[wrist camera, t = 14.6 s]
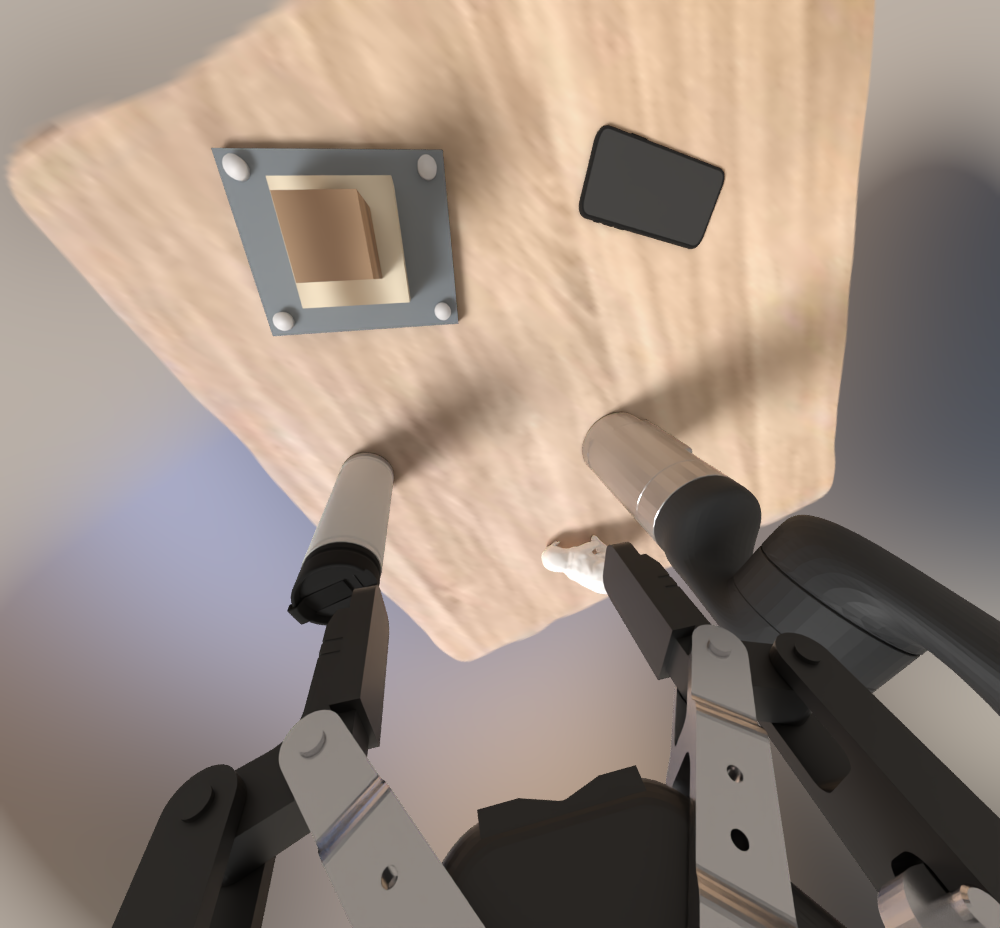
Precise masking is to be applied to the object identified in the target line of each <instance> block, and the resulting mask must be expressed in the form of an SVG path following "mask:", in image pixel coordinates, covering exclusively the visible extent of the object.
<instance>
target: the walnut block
mask: <svg viewBox="0 0 1000 928" xmlns="http://www.w3.org/2000/svg"><path fill="white" fill-rule="evenodd" d="M270 192H271V196H272V199H273V203H274V206H275V210H276V214H277V217H278V221H279V224H280V228H281V231H282V235H283V238H284V242H285V245H286V249H287V252H288V256H289V259H290V263H291V266H292V270H293V274H294V277H295V281H296V283H309V282H329V281H348V280H367V279H383V278H382V272H381V266H380V261H379V255H378V250H377V244H376V239H375V233H374V227H373V222H372V216H371V211H370V207H369V206H368V204H367V203H366V201H365V200H364V199H363V197H362V196H361V195H360V193H359V192H358V190H357V189H307V190H270Z"/></svg>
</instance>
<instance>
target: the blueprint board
mask: <svg viewBox="0 0 1000 928" xmlns="http://www.w3.org/2000/svg"><path fill="white" fill-rule="evenodd" d="M211 149H212V152H213V155H214V158H215V161H216V164H217V167H218V170H219V173H220V176H221V179H222V182H223V186H224V189H225V192H226V195H227V198H228V201H229V204H230V207H231V210H232V213H233V216H234V219H235V222H236V225H237V228H238V231H239V234H240V237H241V240H242V243H243V246H244V250H245V253H246V256H247V259H248V262H249V265H250V268H251V271H252V274H253V277H254V280H255V283H256V286H257V289H258V292H259V295H260V298H261V301H262V304H263V307H264V310H265V314H266V317H267V320H268V323H269V326H270V329H271V332H272V335H273V336H283V335H298V334H312V333H327V332H342V331H356V330H371V329H386V328H401V327H415V326H430V325H445V324H458V314H457V303H456V292H455V281H454V270H453V259H452V248H451V237H450V226H449V215H448V204H447V193H446V182H445V171H444V160H443V150H411V149H276V148H211ZM310 175H391V177H392V181H393V184H394V189H395V195H396V202H397V209H398V216H399V223H400V230H401V237H402V243H403V250H404V257H405V264H406V271H407V278H408V284H409V291H410V298H411V300H410V302H407V303H390V304H372V305H355V306H337V307H320V308H302V304H301V300H300V297H299V293H298V290H297V286H296V283H295V279H294V275H293V272H292V268H291V265H290V261H289V258H288V254H287V251H286V247H285V243H284V240H283V236H282V233H281V229H280V226H279V222H278V218H277V215H276V211H275V208H274V204H273V201H272V197H271V193H270V190H269V186H268V183H267V179H266V176H310Z"/></svg>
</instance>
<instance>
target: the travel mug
mask: <svg viewBox="0 0 1000 928" xmlns="http://www.w3.org/2000/svg"><path fill="white" fill-rule="evenodd" d="M393 480H394V473H393V469H392V467H391V465H390V464H389V463H388V461H386V460H385V459H384V458H382V457H381V456H379V455H376V454H372V453H359V454H356V455H353V456H351V457H350V458H348V459H347V460H346V461H345V462H344V464H343V465H342V468H341V470H340V472H339V475H338V477H337V480H336V482H335V485H334V487H333V490H332V492H331V494H330V497H329V499H328V502H327V504H326V507H325V509H324V512H323V514H322V516H321V519H320V521H319V524H318V526H317V529H316V531H315V534H314V536H313V538H312V541H311V543H310V546H309V548H308V551H307V553H306V555H305V559H304V560H303V563H302V567H301V570H300V572H299V575H298V577H297V580H296V582H295V585H294V587H293V589H292V593H291V603H292V604H291V605H289V608H288V612H289V613H290V614H291V615H292V616H293V617H294V618H295V619H296V620H297V621H298V622H299V623H300V624H304V623H307V622H311V623H315V624H319V625H327V624H328V622H329V621H330V619H331V618H332V617H333V615H334V614H335V612H336V611H337V609H342V608H348V607H350V602H351V597H352V593H353V590H354V589H359V588H364V587H370V586H376V585H378V586H379V583H380V576H381V573H382V566H383V558H384V550H385V542H386V535H387V527H388V519H389V511H390V504H391V496H392V488H393Z"/></svg>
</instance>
